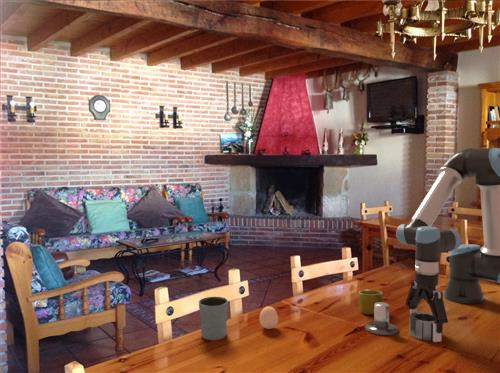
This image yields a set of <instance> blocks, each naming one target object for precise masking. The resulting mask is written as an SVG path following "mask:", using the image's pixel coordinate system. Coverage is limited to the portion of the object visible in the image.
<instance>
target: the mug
mask: <svg viewBox="0 0 500 373" xmlns="http://www.w3.org/2000/svg"><path fill="white" fill-rule="evenodd" d="M357 299H358V307H359V311H360V313H361V314H363V315H368V316H369V315H370V316H374V305H375V303H377V302H383V301H384V293H383V292H382V291H380V290H375V289H370V288H369V289H364V290H359V291H358V294H357ZM383 303H384V302H383Z"/></svg>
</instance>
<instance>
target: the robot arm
mask: <svg viewBox="0 0 500 373" xmlns="http://www.w3.org/2000/svg"><path fill="white" fill-rule="evenodd" d="M437 175H438V176H437V177H436V179H435V180H434V182H433V184H432V186H430V189H429V190H428V191H427V193H426V194H425V197H424V198H423V200H422V201H421V203H420V204H419V206H418V208H417V210H415V212H414V214H413V215H412V218H411V219H410V220H409V221H408V223H401V224H400V225H399V226H398V227H397V228H396V231H395V236H396V239H397V241H398V242H399V243H400V244H404V245H407V246H413V247H415V256H414V258H415V262H414V264H415V265H414V266H415V267H414V269H415V272H414V281H411V282H410V288H409V291H408V294H407V296H406V299H405V305H406V306H407V307H408V309H409V312H408V313H409V315H408V316H409V317H410V314H412V313H416V312H419V310H418V309H419V307H418V305H419V304H420V303H421V302H422V299H423V300H424V301H426V303H427V304H428V305H429V306H428V307H429V308H430V311H431V314H433V317H434V319H435V322H433V341H432V342H433V343H438V342H439V343H441V342H442V337H443V336H442V333H443V329H444V327H443V326H444V325H443V324H448V323H449V321H448V315H447V310H446V307H445V302H444V298H445V299H446V300H448V301H452V302H455V303H460V304H466V305H474V304H475V305H476V304H482V303H483V302H484V293H483V290H482V286H481V283H480V279H481V280H486V281H490V282H494V283H498V284H500V148H499V147H481V148H477V147H476V148H473V147H471V148H470V147H469V148H468V147H467V148H464V149H461V150H458V151H457V152H455V153H453V154H452V155H451V156H450V157H448V158H447V159H446V160H445V161H444V162H443V163H442V164H441V166H440V168H439V169H438V171H437ZM467 178H469V179H470V178H471V179H474V182H475V185H476V186H477V187H478V188H479V189H480V204H481V205H480V206H481V216H482V217H481V218H482V233H483V245H482V246H481V245H478V244H474V243H473V244H471V243H466V244H465V243H463V244H462V237H461V235H460V233H459V231H457V230H455V229H453V228H446V229H440V228H438V227H436V226H432V225H433V224H434V223H435V222H436V219H437V217H438V216H439V214H440V213H441V211H442V210H443V208H444V207H445V204H446V203H447V201H448V200H449V198H450V197H451V195H452V194H453V191H454V190H455V188H456V186H457V185H458V186H459V185H461V183H462V182H463V181H464V180H465V179H467ZM446 252H449V254H448V256H449V272H448V273H449V276H448V282H447V284H446V287H445V289H444V292H442V291H437V288H436V287H437V286H438V285H439V277H440V276H439V272H440V254H442V253H446Z"/></svg>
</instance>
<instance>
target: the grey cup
mask: <svg viewBox="0 0 500 373" xmlns="http://www.w3.org/2000/svg"><path fill="white" fill-rule="evenodd" d="M228 306H229V300H228V299H227V298H225V297H223V296H208V297H204V298H203V297H202V298H201V299H199V300H198V309H199V316H200V332H201V337H202V338H203V339H204V340H207V341H217V340H218V341H219V340H222V339H224V338H226V336H227V331H228V330H227V328H228V327H227V322H228V321H227V320H228V308H229V307H228Z"/></svg>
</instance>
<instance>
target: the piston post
mask: <svg viewBox="0 0 500 373" xmlns="http://www.w3.org/2000/svg"><path fill="white" fill-rule="evenodd" d="M373 319H374V320H373V321H370V322H367V323H366V324H365V330H366V331H367V332H368V333H369V334H372V335H376V336H382V337H385V336H386V337H388V336H389V337H390V336H394V335H396V334H398V331H399V328H398V326H396V325H395V324H392V323H390V304H389V303H387V302H377V303H375V305H374V315H373Z"/></svg>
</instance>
